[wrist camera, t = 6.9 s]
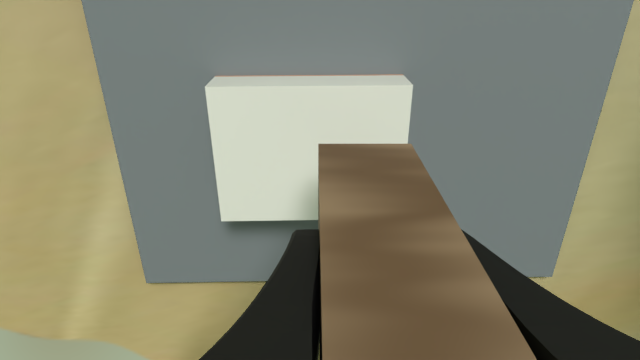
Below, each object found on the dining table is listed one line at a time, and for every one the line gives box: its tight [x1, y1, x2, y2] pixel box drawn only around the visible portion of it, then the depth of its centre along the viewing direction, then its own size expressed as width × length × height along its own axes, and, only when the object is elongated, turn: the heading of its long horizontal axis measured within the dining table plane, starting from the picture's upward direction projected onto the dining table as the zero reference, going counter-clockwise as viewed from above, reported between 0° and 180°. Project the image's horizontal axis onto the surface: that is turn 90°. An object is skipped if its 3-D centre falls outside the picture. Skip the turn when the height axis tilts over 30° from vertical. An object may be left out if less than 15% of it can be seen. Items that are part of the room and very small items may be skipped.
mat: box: [81, 0, 634, 283], centre depth 19 cm, size 22×16×1 cm
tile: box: [205, 74, 413, 221], centre depth 18 cm, size 2×6×8 cm
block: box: [318, 144, 537, 360], centre depth 10 cm, size 3×3×9 cm
